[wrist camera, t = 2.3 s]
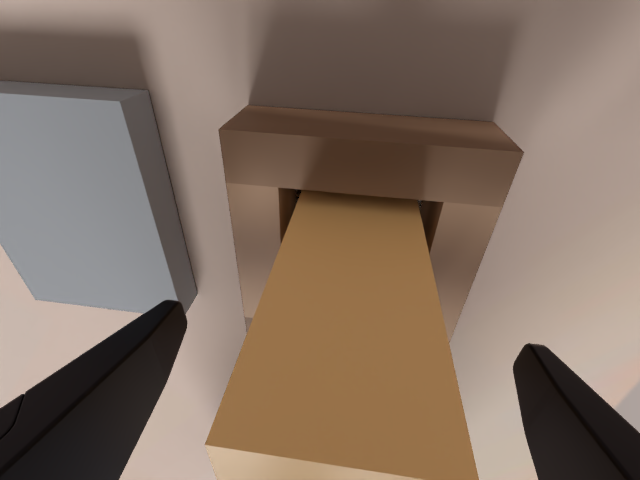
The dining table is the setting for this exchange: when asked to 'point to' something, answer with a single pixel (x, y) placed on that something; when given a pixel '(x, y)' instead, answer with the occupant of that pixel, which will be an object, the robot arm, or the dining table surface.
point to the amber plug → (345, 356)
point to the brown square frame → (366, 184)
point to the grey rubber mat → (89, 198)
